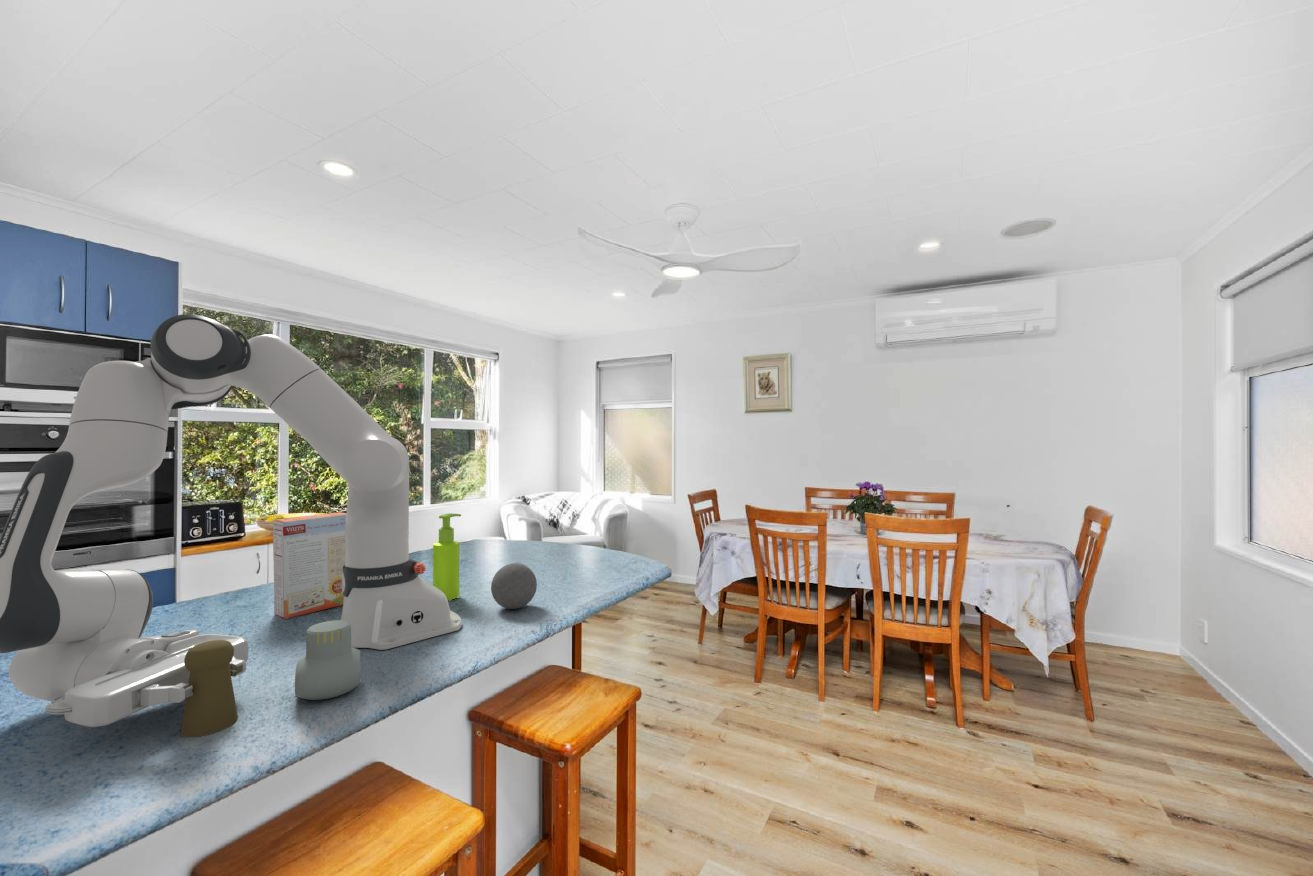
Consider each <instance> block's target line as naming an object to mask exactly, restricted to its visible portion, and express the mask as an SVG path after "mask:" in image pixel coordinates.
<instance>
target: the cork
mask: <svg viewBox="0 0 1313 876" xmlns="http://www.w3.org/2000/svg"><path fill="white" fill-rule="evenodd" d="M233 655H234V647H233V645H232V644H231V643H230V642H229V641H226V640H213V641H207V642H203V643H200V644H197V645H195V646H193V647H192V648H190V649H189V650H188V652H187V653H186V655H185V659H184V664H185V667H186V669H187V670H188V671H189V672H190V675H189V681H188V684H191V685H192V687H193V689H192V692H193V695H192V697H190V698H188V699H186V700H184V707H183V713H182V719H181V726H180V732H179V733H180V735H181V736H182V737H187V738H195V737H196V738H197V737H203V736H204V737H205V736H208V735H212V734H213V735H214V734H215V733H218V732H221V731H224V730H225V729H227V728H230V727H231V726H233V725H234V724H235V723H236V722H238V719H239V715H238V709H237V705H236V704H237V703H236V698H235V692H234V686H233V680H232V676H231V673H230V667H229V664H230V662H231V661H232V659H233Z"/></svg>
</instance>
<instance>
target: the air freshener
mask: <svg viewBox="0 0 1313 876" xmlns="http://www.w3.org/2000/svg"><path fill="white" fill-rule="evenodd" d="M305 634H306V635H305V637H306V638H305V642H306V643H305V645H306V647H305V655H304V656H302V657H300V658H299V659H298V660H296V665H295V673H294V676H295V677H294V695H295V696H296V697H298V698H301V699H304V700H308V701H309V700H310V701H323V700H329V699H333V698H337V697H340V696H343V695H345V694H346V693H349V692H350V691H352V690H353V689H355V688H356V687H357V686H359V685H360V684H361V675H362V674H361V650H360V649H358V648H354V647H351V624H350V623H349V622H347V621H343V620H341V619H339V620H337V619H335V620H328V621H323V622H318V623H316V624H313V625H311V626H310V627H309V628H308V629H306V633H305Z"/></svg>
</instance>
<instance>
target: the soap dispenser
mask: <svg viewBox="0 0 1313 876" xmlns="http://www.w3.org/2000/svg"><path fill="white" fill-rule="evenodd" d="M461 516H462V514H461V513H444V514H441V515H439V516H438V519H442V527H440V528H438V541H437V542H435V543H433V544H432V585H433V586H435V587H436V588H438V589H439V590H441V591H442V592H443V593H444V594H445V596H446V598H447V600H452V599H455V598H457V597H458V596H459V597H460V542H459V541H455V539H454V538H455V535H454V534H455V531H454V530H455V529H454V527H452V526H451V518H455V517H461ZM455 600H456V599H455ZM452 601H453V600H452Z"/></svg>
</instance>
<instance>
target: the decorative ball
mask: <svg viewBox="0 0 1313 876" xmlns="http://www.w3.org/2000/svg"><path fill="white" fill-rule="evenodd" d="M537 582H538V581H537V577H536V575H535V573H534V572H533V571H532V569H531V568H530V567H528V566H526V565H525V564H522V563H516V562H515V563H509V564H506V565H504V566H502V567H501V568H500V569H498V570H497V572H496V573H495V574H494V576H493V578H492V579H491V587H490V591H491V595H492V598H493V599H494V601H495V602H496V603H497V604H498V605H499V606H501V607H502V608H504V609H507V610H518V609H521V608H524V607H525V606H526V605H528V604H529V603H530V602H531V601H532V599H534V596H535V595H536V593H537V587H538V586H537V585H538V583H537Z"/></svg>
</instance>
